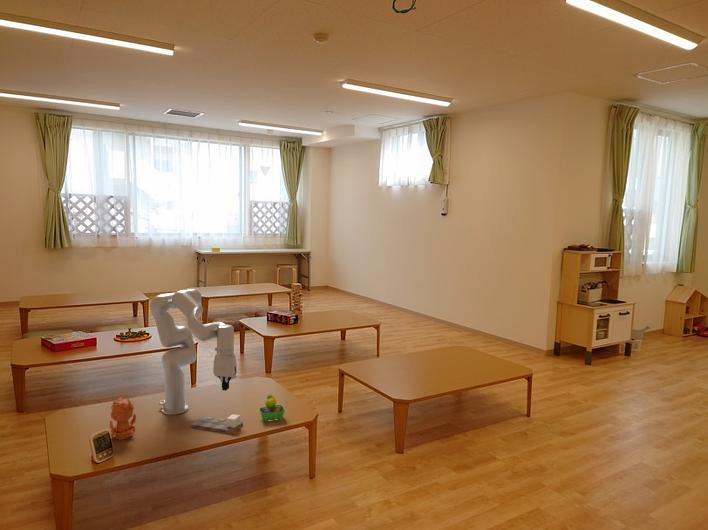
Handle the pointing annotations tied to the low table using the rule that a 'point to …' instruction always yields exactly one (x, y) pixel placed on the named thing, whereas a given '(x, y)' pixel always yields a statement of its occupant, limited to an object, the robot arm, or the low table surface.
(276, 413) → the fruit basket
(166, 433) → the low table surface
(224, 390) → the robot arm
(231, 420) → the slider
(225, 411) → the low table surface
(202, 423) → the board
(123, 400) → the orange figurine
